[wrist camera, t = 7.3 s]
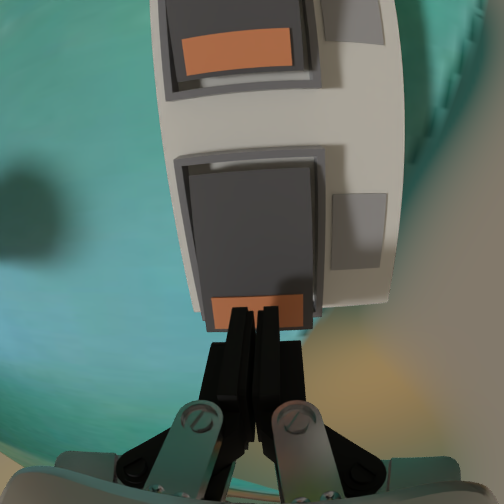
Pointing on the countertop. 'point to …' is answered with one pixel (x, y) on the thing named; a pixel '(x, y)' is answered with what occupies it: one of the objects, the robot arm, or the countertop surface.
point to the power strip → (302, 140)
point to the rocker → (254, 244)
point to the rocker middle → (234, 37)
